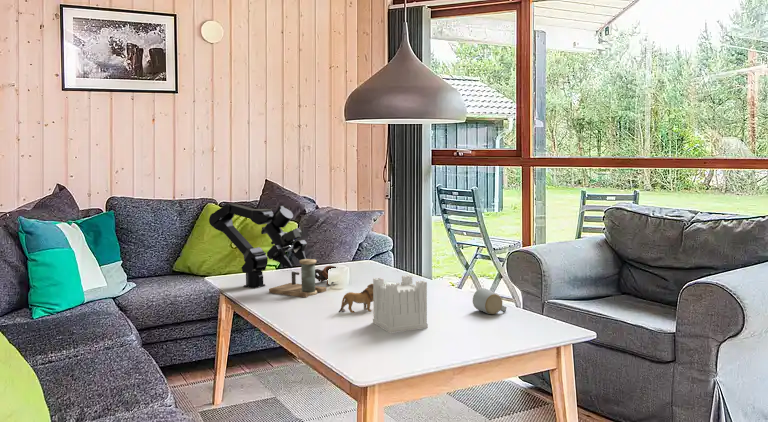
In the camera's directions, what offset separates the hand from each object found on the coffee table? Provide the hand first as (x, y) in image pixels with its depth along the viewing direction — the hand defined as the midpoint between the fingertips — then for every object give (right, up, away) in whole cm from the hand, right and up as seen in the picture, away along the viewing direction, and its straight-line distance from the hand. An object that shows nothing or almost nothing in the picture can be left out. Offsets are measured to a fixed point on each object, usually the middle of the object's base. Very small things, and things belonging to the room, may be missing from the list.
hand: (299, 265), depth 256 cm
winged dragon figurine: (+9, -9, +19) cm, 23 cm away
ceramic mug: (+69, -13, -32) cm, 77 cm away
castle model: (+39, -15, -48) cm, 63 cm away
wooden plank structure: (-1, -10, +2) cm, 11 cm away
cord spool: (+4, -11, -1) cm, 11 cm away
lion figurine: (+24, -13, -29) cm, 40 cm away
